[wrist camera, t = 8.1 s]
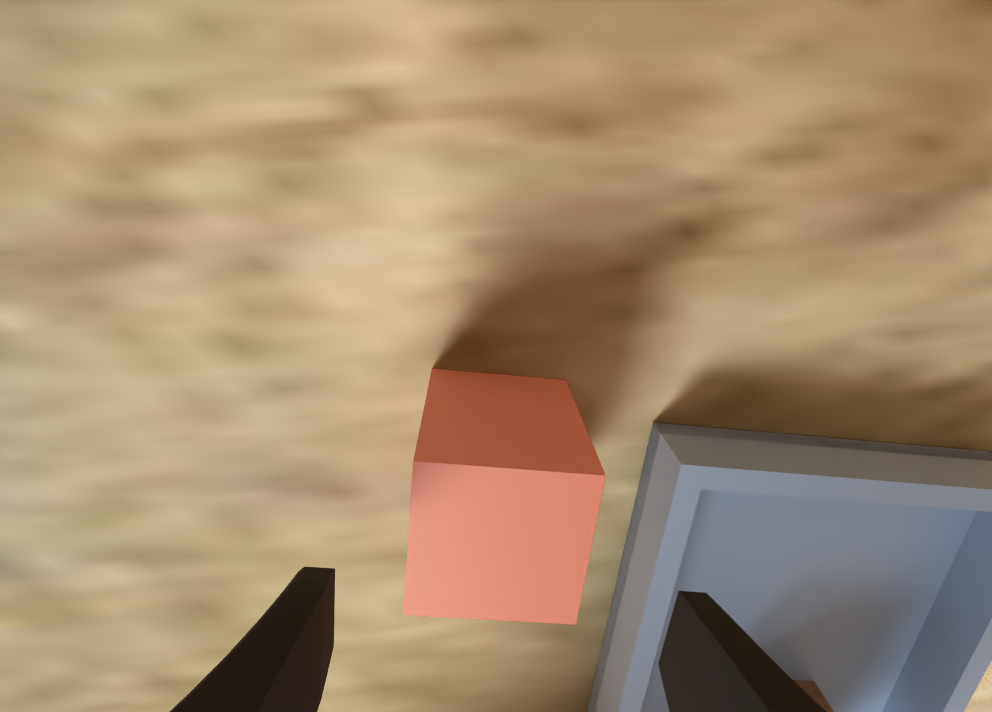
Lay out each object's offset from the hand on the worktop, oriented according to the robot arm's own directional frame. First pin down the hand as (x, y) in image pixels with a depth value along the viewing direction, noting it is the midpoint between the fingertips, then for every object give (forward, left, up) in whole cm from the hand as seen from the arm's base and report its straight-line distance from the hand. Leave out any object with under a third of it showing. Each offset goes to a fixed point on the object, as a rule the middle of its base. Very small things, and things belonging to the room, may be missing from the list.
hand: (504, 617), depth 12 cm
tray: (-8, -12, -8) cm, 17 cm away
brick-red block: (0, 0, -8) cm, 8 cm away
